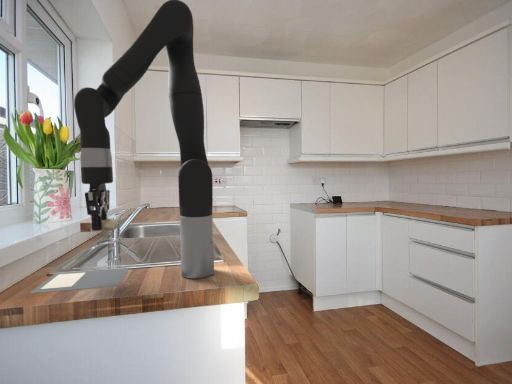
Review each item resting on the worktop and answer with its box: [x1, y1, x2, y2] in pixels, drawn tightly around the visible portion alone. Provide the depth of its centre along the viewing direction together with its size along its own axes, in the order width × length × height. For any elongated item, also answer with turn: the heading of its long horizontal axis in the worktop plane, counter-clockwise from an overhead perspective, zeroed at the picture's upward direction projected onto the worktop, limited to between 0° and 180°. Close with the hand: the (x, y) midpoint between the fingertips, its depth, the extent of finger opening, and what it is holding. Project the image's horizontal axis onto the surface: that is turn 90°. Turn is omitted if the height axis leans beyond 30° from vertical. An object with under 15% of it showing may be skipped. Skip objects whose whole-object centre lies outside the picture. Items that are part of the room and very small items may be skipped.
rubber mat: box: [29, 267, 130, 294], centre depth 80 cm, size 20×15×1 cm
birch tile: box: [79, 218, 119, 233], centre depth 80 cm, size 8×5×2 cm, turn 103°
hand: (100, 228), depth 80 cm, fingers closed on birch tile, 5 cm apart
